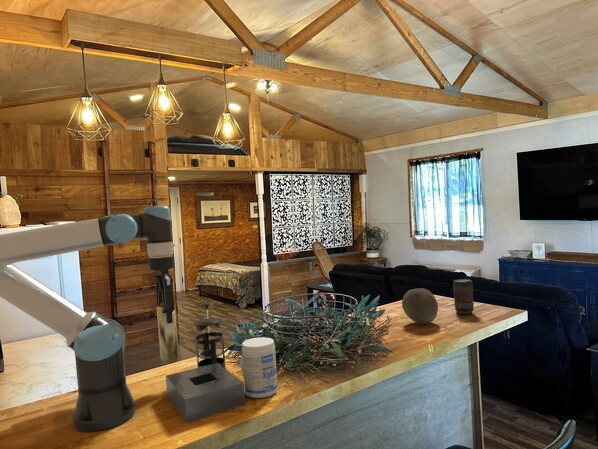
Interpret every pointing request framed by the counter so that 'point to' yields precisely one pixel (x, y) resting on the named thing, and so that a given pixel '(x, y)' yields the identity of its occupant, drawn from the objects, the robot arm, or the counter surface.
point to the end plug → (167, 337)
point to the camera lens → (463, 297)
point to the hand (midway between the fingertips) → (167, 331)
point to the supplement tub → (259, 367)
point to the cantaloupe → (420, 305)
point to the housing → (204, 391)
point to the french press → (209, 341)
